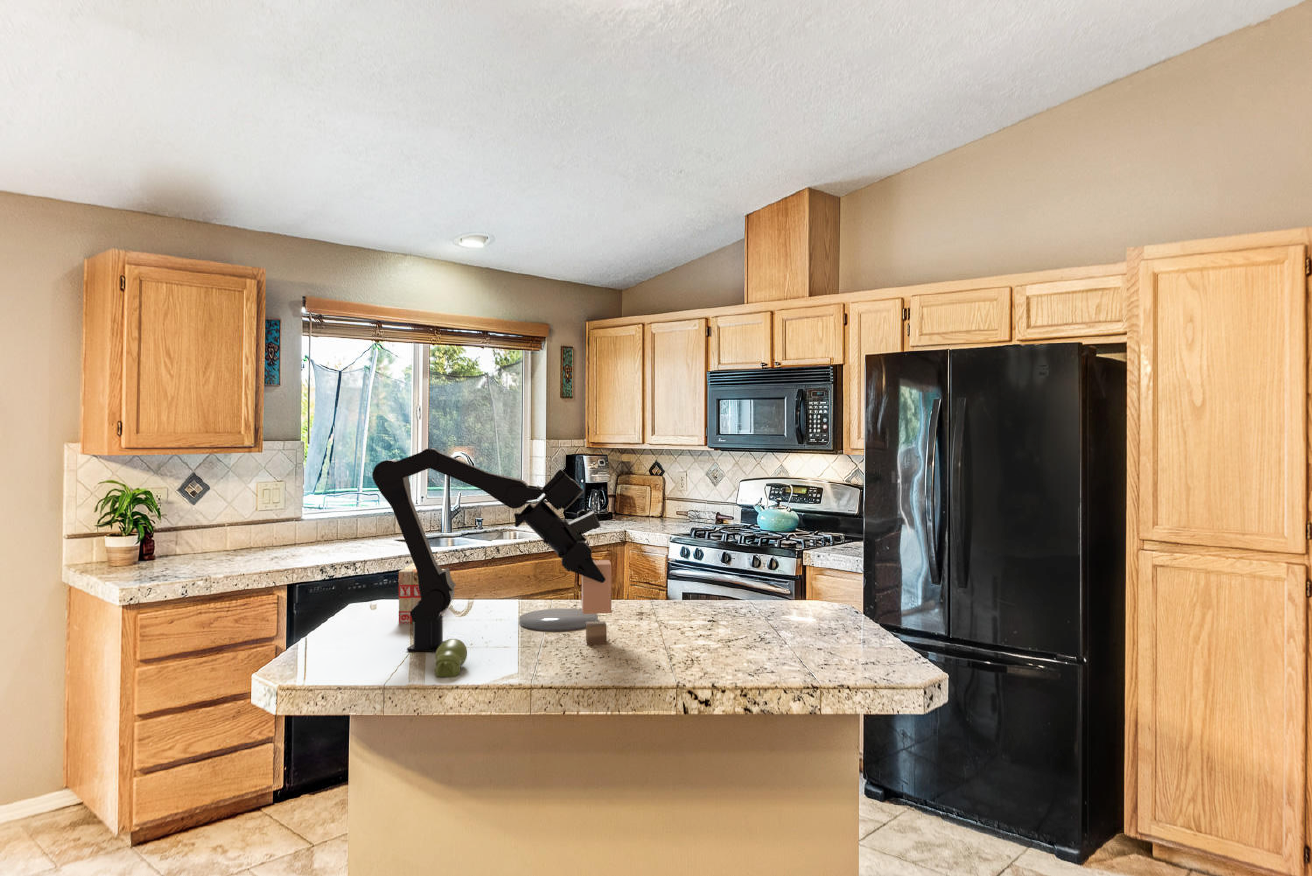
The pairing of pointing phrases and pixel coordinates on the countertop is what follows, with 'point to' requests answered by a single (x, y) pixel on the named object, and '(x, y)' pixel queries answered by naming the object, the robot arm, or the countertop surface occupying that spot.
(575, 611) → the slate plate
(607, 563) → the tall clay pillar
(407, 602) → the stack of blocks
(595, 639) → the walnut block
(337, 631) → the countertop surface
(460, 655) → the green rounded piece
